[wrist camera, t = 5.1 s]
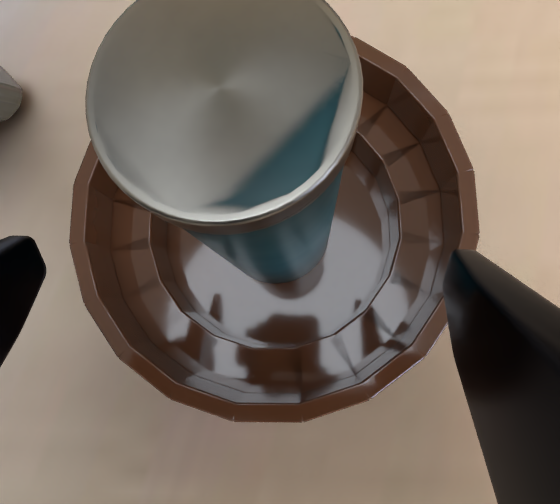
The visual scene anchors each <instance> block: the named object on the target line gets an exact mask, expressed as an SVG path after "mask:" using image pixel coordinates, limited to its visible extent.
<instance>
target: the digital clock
mask: <svg viewBox="0 0 560 504" xmlns="http://www.w3.org/2000/svg"><path fill="white" fill-rule="evenodd" d="M21 101H22V88H21V87H20V86H19V85H18V84H17V82H16V81H15V80H14V79H13V78H12V77H11V76H10V75H9V74H8V73H7V72H6V71H5V70H4V69H3V67H1V66H0V121H5V120H7V119H9V118H10V117H11V116H12V115H13V114H14V113H15V112H16V110H17V109H18V108H19V107H20V104H21Z"/></svg>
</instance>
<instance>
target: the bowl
mask: <svg viewBox="0 0 560 504" xmlns="http://www.w3.org/2000/svg"><path fill="white" fill-rule="evenodd" d="M351 38H352V40H353V42H354V44H355V46H356V50H357V53H358V56H359V60H360V63H361V70H362V77H363V100H362V107H361V114H360V119H359V123H358V127H357V131H356V135H355V138H354V142H353V145H352V148H351V150H350V153H349V155H348V157H347V159H346V162H345V164H344V167H343V171H342V176H341V181H340V186H339V191H338V196H337V201H336V205H335V210H334V215H333V220H332V225H331V230H330V235H329V239H328V244H327V247H326V250H325V252H324V254H323V256H322V258H321V259H320V261H319V262H318V263H317V265H316V266H315V267H314V268H313V269H312V270H311V271H310V272H308V273H307V274H305V275H304V276H302V277H300V278H298V279H296V280H293V281H290V282H286V283H266V282H262V281H259V280H256V279H254V278H252V277H250V276H248V275H247V274H245V273H244V272H242V271H241V270H239V269H238V268H237V267H235V266H234V265H233V264H231V263H230V262H228V261H227V260H226V259H224V258H223V257H221V256H220V255H219V254H217V253H216V252H215V251H213V250H212V249H210V248H209V247H208V246H206V245H205V244H203V243H202V242H201V241H199V240H198V239H196V238H195V237H194V236H192V235H191V234H190V233H188V232H187V231H185V230H184V229H183V228H180V227H178V226H175V225H173V224H171V223H169V222H166V221H164V220H162V219H161V218H159V217H158V216H156V215H154V214H153V213H151V212H149V211H148V210H147V209H145V208H144V207H142V206H141V205H139V204H138V203H136V202H135V201H134V200H133V199H131V198H130V197H129V196H128V195H126V194H125V193H124V192H123V191H122V190H121V189H120V188H119V187H118V186H117V185H116V183H115V182H114V181H113V180H112V179H111V178H110V176H109V175H108V173H107V172H106V170H105V169H104V167H103V166H102V164H101V163H100V160H99V158H98V156H97V154H96V152H95V150H94V147H93V144H92V141H90V144H89V146H88V149H87V151H86V154H85V156H84V159H83V161H82V164H81V166H80V169H79V171H78V174H77V177H76V179H75V182H74V183H75V184H74V186H73V200H72V213H71V226H70V240H69V243H70V249H71V253H72V257H73V261H74V265H75V269H76V273H77V277H78V281H79V286H80V290H81V294H82V298H83V302H84V303H85V306H86V308H87V310H88V311H89V313H90V314H91V316H92V317H93V319H94V321H95V322H96V324H97V325H98V327H99V329H100V330H101V332H102V333H103V335H104V336H105V338H106V340H107V341H108V343H109V344H110V346H111V347H112V349H113V351H114V352H115V354H116V355H117V357H119V359H120V360H121V361H123V362H124V363H125V364H126V365H128V366H129V367H130V368H131V369H133V370H134V371H135V372H136V373H138V374H139V375H140V376H141V377H143V378H144V379H145V380H146V381H148V382H149V383H150V384H151V385H153V386H154V387H155V388H156V389H158V390H159V391H160V392H161V393H163V394H164V395H165V396H166V397H168V398H170V399H171V400H173V401H176V402H179V403H182V404H184V405H187V406H190V407H193V408H196V409H198V410H201V411H204V412H207V413H210V414H213V415H215V416H218V417H221V418H224V419H227V420H229V421H234V422H306V421H309V420H312V419H315V418H318V417H321V416H324V415H327V414H330V413H333V412H336V411H339V410H342V409H345V408H348V407H351V406H354V405H357V404H360V403H363V402H366V401H369V399H372V398H373V397H375V396H376V395H377V394H378V393H380V392H381V391H382V390H384V389H385V388H386V387H388V386H389V385H390V384H391V383H393V382H394V381H395V380H397V379H398V378H399V377H401V376H402V375H403V374H404V373H406V372H407V371H408V370H410V369H411V368H412V367H414V366H415V365H416V364H417V363H419V362H420V361H421V360H423V359H424V357H425V356H427V355H428V353H429V352H430V350H431V349H432V347H433V346H434V344H435V342H436V341H437V339H438V338H439V336H440V335H441V333H442V332H443V330H444V329H445V327H446V326H447V324H448V320H447V314H446V308H445V302H444V296H443V279H444V276H445V272H446V268H447V264H448V261H449V257H450V254H451V252H452V251H453V250H455V249H471V250H475V251H476V248H477V244H478V240H479V235H478V234H479V233H480V232H479V220H478V209H477V198H476V187H475V175H474V171H473V167H472V164H471V162H470V160H469V158H468V155H467V153H466V151H465V149H464V146H463V144H462V142H461V140H460V137H459V135H458V133H457V131H456V128H455V126H454V124H453V122H452V119H451V117H450V115H449V113H448V112H447V110H446V109H445V108H444V107H443V106H442V105H441V104H440V103H439V102H438V100H437V99H436V98H435V97H434V96H433V95H432V94H431V93H430V92H429V91H428V89H427V88H426V87H425V86H424V85H423V84H422V83H421V82H420V81H419V80H418V79H417V77H416V76H415V75H414V74H413V73H412V72H411V71H410V70H409V69H408V68H407V67H406V66H405V65H403V64H401V63H400V62H398V61H396V60H394V59H393V58H391V57H389V56H387V55H386V54H384V53H382V52H381V51H379V50H377V49H375V48H374V47H372V46H370V45H368V44H367V43H365V42H363V41H361V40H360V39H358V38H356V37H355V38H354V37H353V36H351Z"/></svg>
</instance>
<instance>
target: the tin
mask: <svg viewBox="0 0 560 504" xmlns="http://www.w3.org/2000/svg"><path fill="white" fill-rule="evenodd" d="M362 100H363V77H362V70H361V63H360V60H359V56H358V53H357V50H356V46H355V44H354V42H353V40H352V38H351V36H350V33H349V31H348V30H347V28H346V26H345V25H344V23H343V22H342V20H341V19H340V17H339V16H338V15H337V13H336V12H335V11H334V10H333V9H332V8H331V7H330V5H329V4H328V3H327V2H326V1H325V0H136V1H135V2H134V3H133V4H132V5H131V6H129V7H128V8H127V9H126V10H125V11H124V13H123V14H122V15H121V16H120V17H119V18H118V19H117V20H116V21H115V23H114V24H113V25H112V27H111V28H110V30H109V31H108V32H107V34H106V35H105V37H104V39H103V41H102V43H101V45H100V46H99V48H98V50H97V53H96V55H95V58H94V60H93V63H92V65H91V69H90V73H89V77H88V81H87V90H86V118H87V124H88V131H89V135H90V138H91V141H92V144H93V147H94V150H95V152H96V154H97V156H98V158H99V160H100V163H101V164H102V166H103V167H104V169H105V170H106V172H107V173H108V175H109V176H110V178H111V179H112V180H113V181H114V182H115V183H116V185H117V186H118V187H119V188H120V189H121V190H122V191H123V192H124V193H125V194H126V195H128V196H129V197H130V198H131V199H133V200H134V201H135V202H136V203H138V204H139V205H141V206H142V207H144V208H145V209H147V210H148V211H149V212H151V213H153V214H154V215H156V216H158V217H159V218H161V219H162V220H164V221H166V222H169V223H171V224H173V225H175V226H178V227H180V228H183V229H184V230H185V231H187V232H188V233H190V234H191V235H192V236H194V237H195V238H196V239H198V240H199V241H201V242H202V243H203V244H205V245H206V246H208V247H209V248H210V249H212V250H213V251H215V252H216V253H217V254H219V255H220V256H221V257H223V258H224V259H226V260H227V261H228V262H230V263H231V264H233V265H234V266H235V267H237V268H238V269H239V270H241V271H242V272H244V273H245V274H247V275H248V276H250V277H252V278H254V279H256V280H259V281H262V282H266V283H286V282H290V281H293V280H296V279H298V278H300V277H302V276H304V275H305V274H307V273H308V272H310V271H311V270H312V269H313V268H314V267H315V266H316V265H317V263H318V262H319V261H320V259H321V258H322V256H323V254H324V252H325V250H326V247H327V244H328V239H329V235H330V230H331V225H332V220H333V215H334V210H335V205H336V201H337V196H338V191H339V186H340V181H341V176H342V171H343V167H344V164H345V162H346V159H347V157H348V155H349V153H350V150H351V148H352V145H353V142H354V138H355V135H356V131H357V127H358V123H359V119H360V114H361V107H362Z"/></svg>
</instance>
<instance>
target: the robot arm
mask: <svg viewBox="0 0 560 504" xmlns="http://www.w3.org/2000/svg"><path fill="white" fill-rule="evenodd" d="M45 276H46V265H45V263H44V261H43V258H42V256H41V254H40V251H39V249H38V247H37V245H36V242H35V241H34V240H33V239H32V238H31V237H29V236H9V237H6V238H4V239H1V240H0V367H1V365H2V364H3V362H4V360H5V358H6V357H7V355H8V353H9V352H10V350H11V348H12V346H13V345H14V343H15V341H16V339H17V337H18V336H19V334H20V332H21V330H22V328H23V325H24V323H25V321H26V319H27V317H28V314H29V312H30V310H31V308H32V305H33V303H34V301H35V299H36V296H37V294H38V292H39V290H40V287H41V285H42V283H43V281H44V278H45ZM443 296H444V302H445V308H446V314H447V320H448V326H449V332H450V338H451V344H452V349H453V354H454V358H455V362H456V366H457V369H458V372H459V376H460V379H461V382H462V386H463V389H464V392H465V396H466V399H467V402H468V406H469V409H470V412H471V416H472V419H473V422H474V426H475V429H476V432H477V436H478V439H479V442H480V446H481V449H482V452H483V456H484V459H485V462H486V466H487V469H488V472H489V476H490V479H491V482H492V486H493V489H494V492H495V496H496V499H497V502H498V504H560V308H558V307H557V306H556V305H554V304H553V303H551V302H550V301H548V300H547V299H545V298H544V297H542V296H541V295H540V294H538V293H537V292H535V291H534V290H532V289H531V288H529V287H528V286H526V285H525V284H523V283H522V282H521V281H519V280H518V279H516V278H515V277H513V276H512V275H510V274H509V273H507V272H506V271H505V270H503V269H502V268H500V267H499V266H497V265H496V264H494V263H493V262H491V261H490V260H489V259H487V258H486V257H484V256H483V255H481V254H480V253H478V252H477V251H475V250H471V249H455V250H453V251H452V252H451V254H450V257H449V261H448V264H447V268H446V272H445V276H444V279H443Z"/></svg>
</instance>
